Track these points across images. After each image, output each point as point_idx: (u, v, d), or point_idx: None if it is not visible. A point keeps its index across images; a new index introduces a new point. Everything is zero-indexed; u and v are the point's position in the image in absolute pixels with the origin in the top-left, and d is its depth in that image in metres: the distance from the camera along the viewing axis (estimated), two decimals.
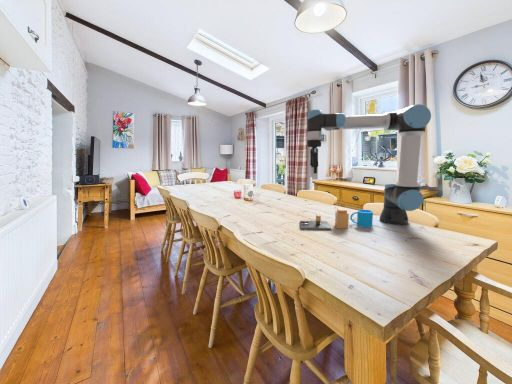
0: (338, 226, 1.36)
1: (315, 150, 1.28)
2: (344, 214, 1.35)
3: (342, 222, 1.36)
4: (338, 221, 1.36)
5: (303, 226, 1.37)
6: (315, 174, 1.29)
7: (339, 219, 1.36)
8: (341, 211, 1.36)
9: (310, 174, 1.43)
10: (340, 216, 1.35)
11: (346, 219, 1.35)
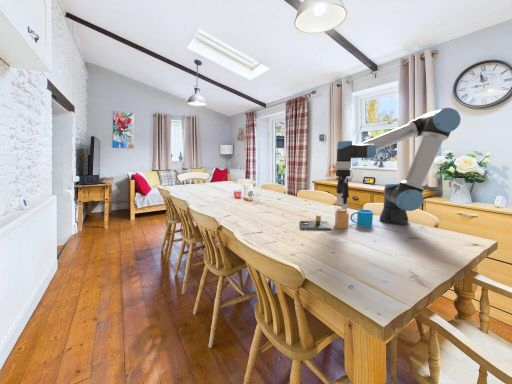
0: (338, 226, 1.36)
1: (345, 181, 1.28)
2: (344, 214, 1.35)
3: (342, 222, 1.36)
4: (338, 221, 1.36)
5: (303, 226, 1.37)
6: (345, 204, 1.30)
7: (339, 219, 1.36)
8: (341, 211, 1.36)
9: (337, 201, 1.44)
10: (340, 216, 1.35)
11: (346, 219, 1.35)
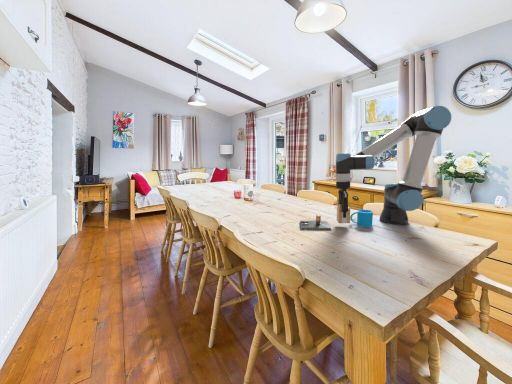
0: (340, 221, 1.36)
1: (345, 196, 1.30)
2: None
3: None
4: (340, 216, 1.35)
5: (303, 226, 1.37)
6: (344, 218, 1.34)
7: (340, 214, 1.35)
8: None
9: None
10: (341, 212, 1.35)
11: (348, 214, 1.35)
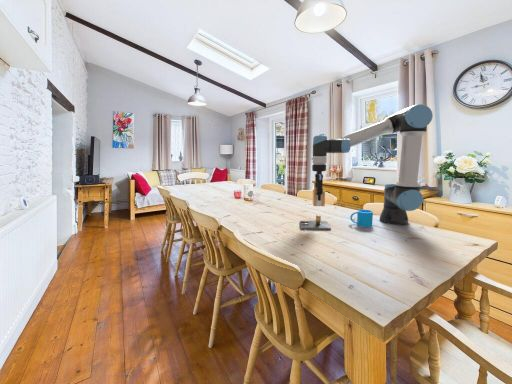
0: (315, 204, 1.36)
1: (320, 178, 1.30)
2: None
3: None
4: (314, 199, 1.36)
5: (303, 226, 1.37)
6: (319, 201, 1.35)
7: (315, 197, 1.36)
8: None
9: None
10: None
11: (322, 197, 1.35)
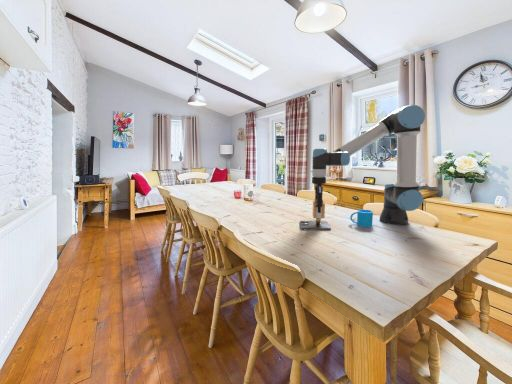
0: (314, 216, 1.37)
1: (320, 191, 1.31)
2: None
3: None
4: (314, 211, 1.37)
5: (303, 226, 1.37)
6: (319, 213, 1.36)
7: (315, 209, 1.37)
8: None
9: None
10: (316, 207, 1.36)
11: (322, 209, 1.36)
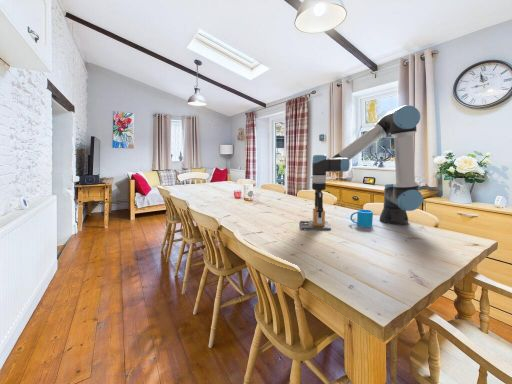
0: (315, 224, 1.38)
1: (320, 195, 1.31)
2: None
3: None
4: (315, 219, 1.38)
5: (303, 226, 1.37)
6: (320, 218, 1.34)
7: (315, 216, 1.37)
8: None
9: None
10: (316, 214, 1.37)
11: (322, 217, 1.37)
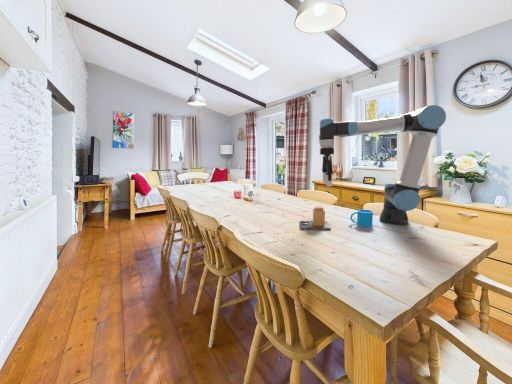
0: (315, 224, 1.38)
1: (329, 158, 1.31)
2: (320, 212, 1.36)
3: (319, 220, 1.37)
4: (315, 219, 1.38)
5: (303, 226, 1.37)
6: (329, 181, 1.32)
7: (315, 216, 1.37)
8: (318, 209, 1.37)
9: (323, 181, 1.46)
10: (316, 214, 1.37)
11: (322, 217, 1.37)
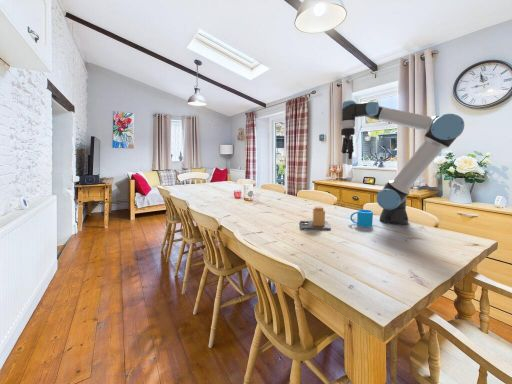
0: (315, 224, 1.38)
1: (350, 137, 1.39)
2: (320, 212, 1.36)
3: (319, 220, 1.37)
4: (315, 219, 1.38)
5: (303, 226, 1.37)
6: (350, 160, 1.40)
7: (315, 216, 1.37)
8: (318, 209, 1.37)
9: (342, 161, 1.54)
10: (316, 214, 1.37)
11: (322, 217, 1.37)
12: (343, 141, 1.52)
